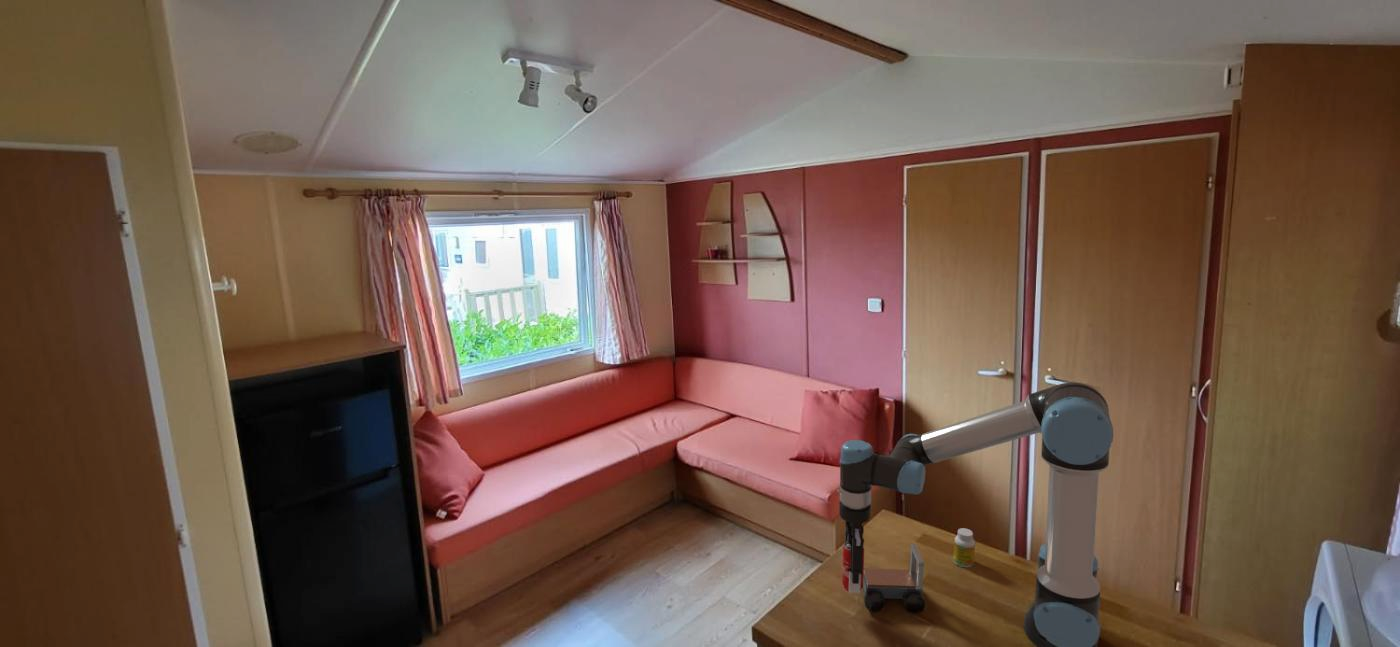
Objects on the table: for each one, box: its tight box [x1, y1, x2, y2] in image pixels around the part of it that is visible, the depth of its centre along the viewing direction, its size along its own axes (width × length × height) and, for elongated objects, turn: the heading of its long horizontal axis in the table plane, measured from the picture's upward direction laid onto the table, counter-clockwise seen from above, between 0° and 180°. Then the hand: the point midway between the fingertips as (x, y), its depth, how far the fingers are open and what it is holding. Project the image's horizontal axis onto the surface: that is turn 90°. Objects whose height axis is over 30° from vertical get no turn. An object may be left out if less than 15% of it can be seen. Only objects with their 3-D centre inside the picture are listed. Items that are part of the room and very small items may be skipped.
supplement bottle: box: [952, 527, 976, 568], centre depth 173 cm, size 5×5×10 cm
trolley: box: [862, 543, 926, 614], centre depth 159 cm, size 15×11×14 cm
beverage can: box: [841, 541, 865, 593], centre depth 154 cm, size 5×5×12 cm
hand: (852, 584), depth 156 cm, fingers closed on beverage can, 5 cm apart
